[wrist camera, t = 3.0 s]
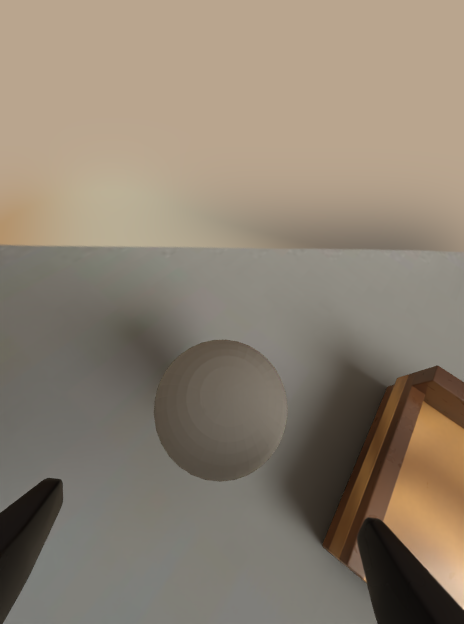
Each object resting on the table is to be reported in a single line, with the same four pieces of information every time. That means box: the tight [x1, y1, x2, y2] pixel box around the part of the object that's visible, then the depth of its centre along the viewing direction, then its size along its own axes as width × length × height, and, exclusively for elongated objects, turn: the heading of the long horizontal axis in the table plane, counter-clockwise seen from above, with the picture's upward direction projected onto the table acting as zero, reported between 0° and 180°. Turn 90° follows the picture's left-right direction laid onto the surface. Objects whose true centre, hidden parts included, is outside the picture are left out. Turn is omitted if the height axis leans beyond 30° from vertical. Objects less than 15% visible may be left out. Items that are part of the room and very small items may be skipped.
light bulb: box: [154, 340, 287, 481], centre depth 14 cm, size 6×6×10 cm
